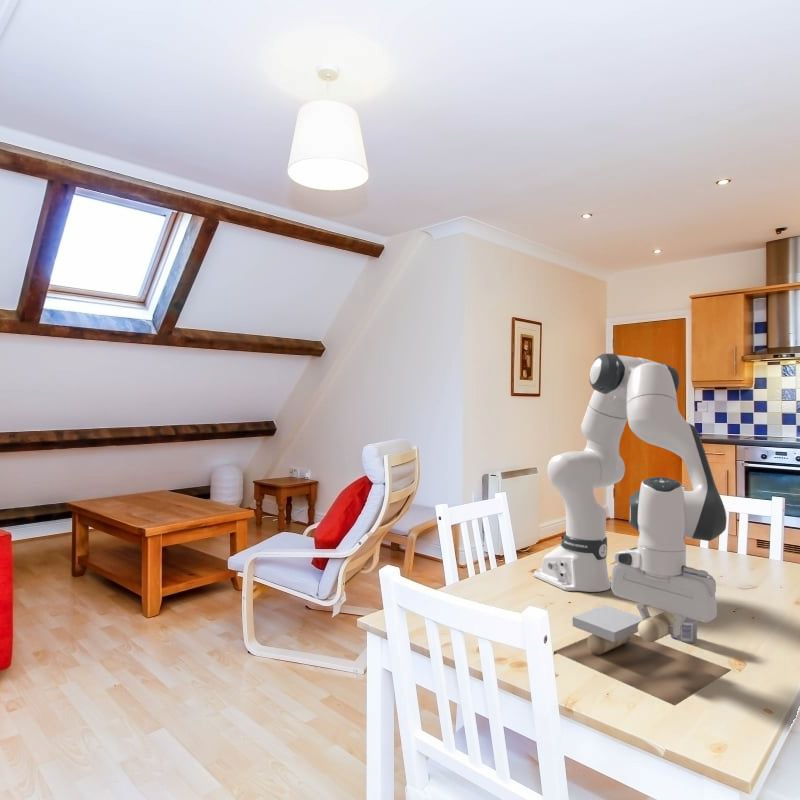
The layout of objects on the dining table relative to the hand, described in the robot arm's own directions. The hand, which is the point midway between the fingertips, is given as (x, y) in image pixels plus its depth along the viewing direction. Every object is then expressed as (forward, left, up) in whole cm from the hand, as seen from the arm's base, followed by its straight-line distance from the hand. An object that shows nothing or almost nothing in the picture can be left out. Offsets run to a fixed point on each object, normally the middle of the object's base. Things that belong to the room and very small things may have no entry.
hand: (660, 630), depth 114 cm
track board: (-4, 0, -9) cm, 10 cm away
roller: (0, 0, -1) cm, 1 cm away
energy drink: (-5, +20, -9) cm, 22 cm away
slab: (-11, 0, -3) cm, 12 cm away
